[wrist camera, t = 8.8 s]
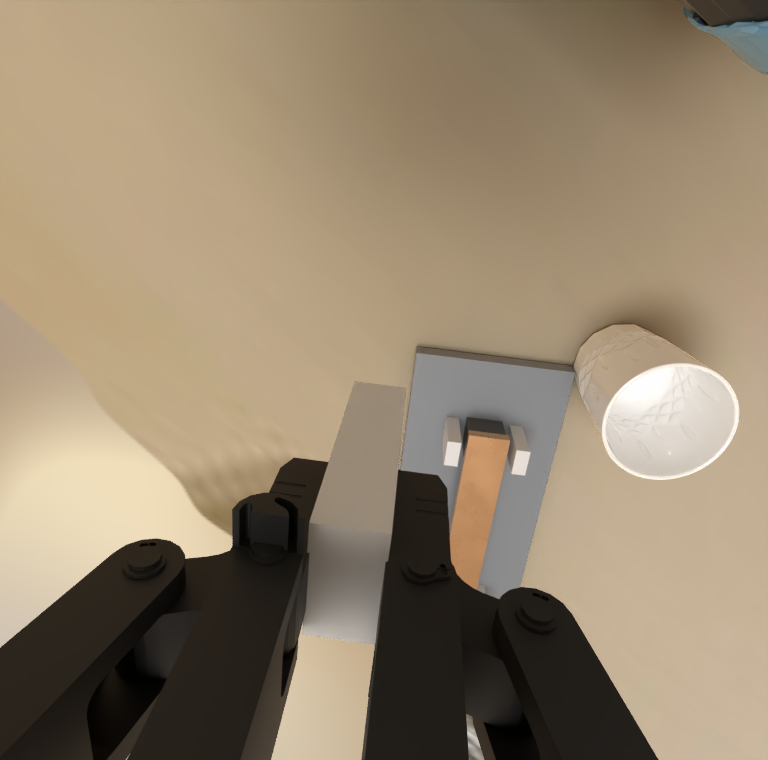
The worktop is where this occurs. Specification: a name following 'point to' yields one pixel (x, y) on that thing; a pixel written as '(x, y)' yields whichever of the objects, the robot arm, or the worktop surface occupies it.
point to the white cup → (654, 403)
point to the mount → (492, 415)
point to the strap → (476, 502)
